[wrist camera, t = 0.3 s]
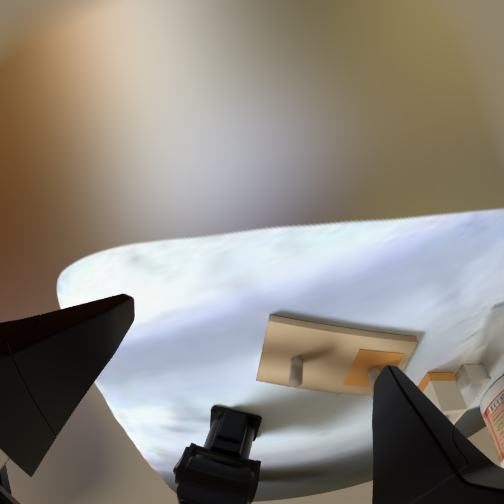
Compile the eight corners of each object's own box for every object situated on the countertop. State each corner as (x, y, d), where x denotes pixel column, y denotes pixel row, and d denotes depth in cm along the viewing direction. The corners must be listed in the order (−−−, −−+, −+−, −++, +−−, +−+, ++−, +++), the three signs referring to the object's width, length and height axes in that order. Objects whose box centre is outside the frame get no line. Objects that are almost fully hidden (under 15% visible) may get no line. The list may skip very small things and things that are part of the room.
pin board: (385, 390, 26) (390, 416, 22) (257, 374, 27) (250, 401, 24) (415, 336, 23) (427, 362, 19) (269, 314, 25) (263, 341, 21)
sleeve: (436, 396, 25) (448, 431, 19) (410, 397, 26) (421, 434, 20) (453, 372, 23) (469, 407, 18) (427, 372, 24) (441, 410, 18)
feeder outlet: (456, 401, 25) (462, 415, 22) (436, 402, 25) (441, 418, 23) (483, 364, 22) (491, 378, 20) (463, 364, 23) (471, 379, 20)
